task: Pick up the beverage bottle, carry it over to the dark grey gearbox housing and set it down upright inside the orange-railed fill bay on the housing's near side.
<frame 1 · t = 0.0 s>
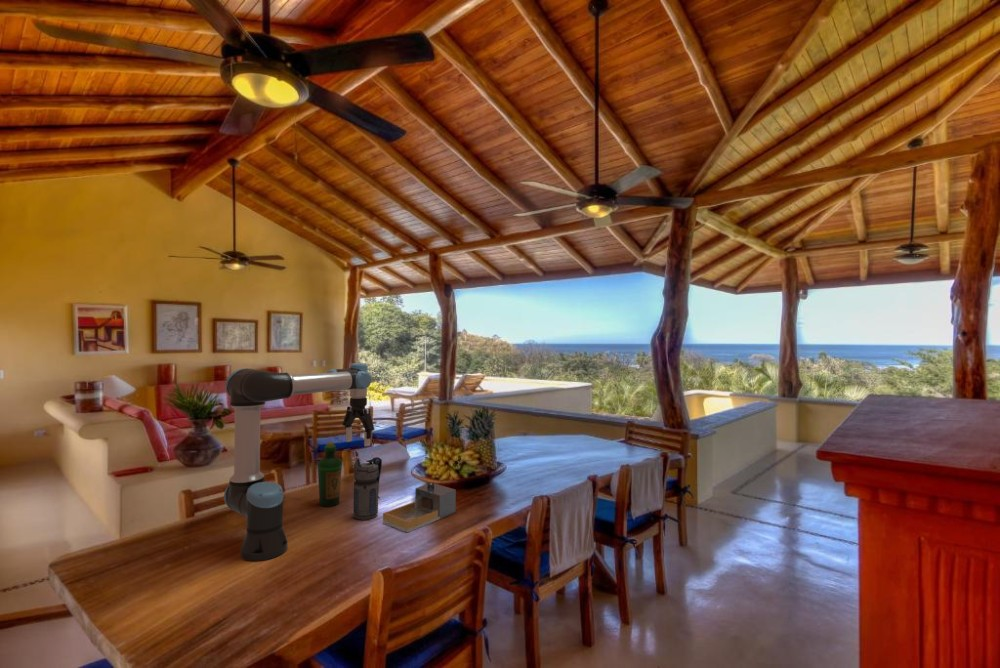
hand: (357, 443, 219), 28 cm above the table, fingers open, 13 cm apart
bottle: (329, 504, 220), on the table
beverage bottle: (367, 516, 207), on the table
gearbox: (411, 521, 201), on the table
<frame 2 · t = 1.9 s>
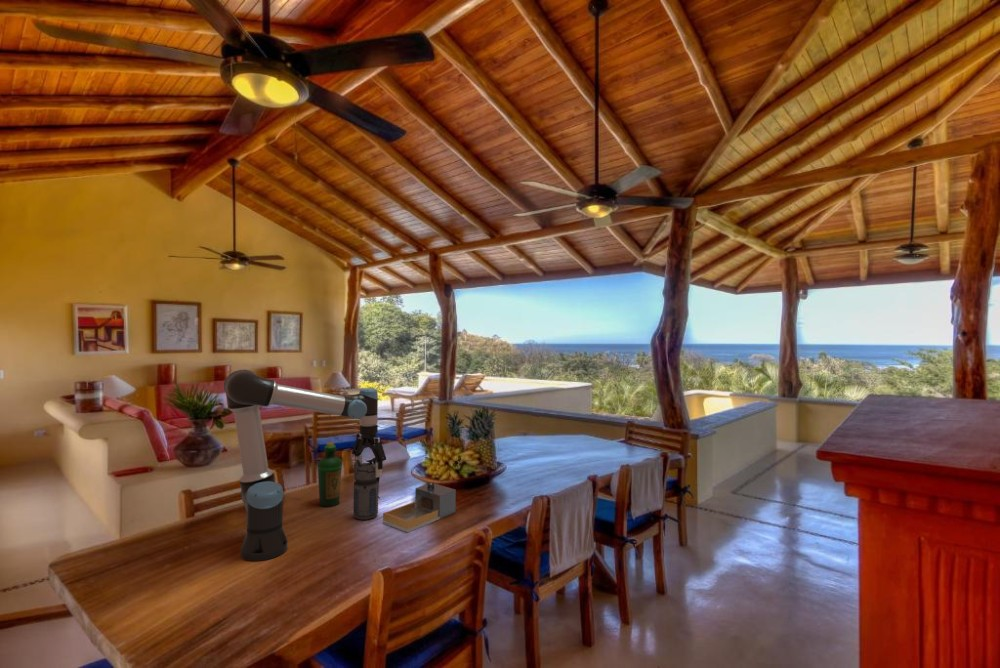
hand: (368, 473, 207), 18 cm above the table, fingers open, 13 cm apart
nothing on the table moved.
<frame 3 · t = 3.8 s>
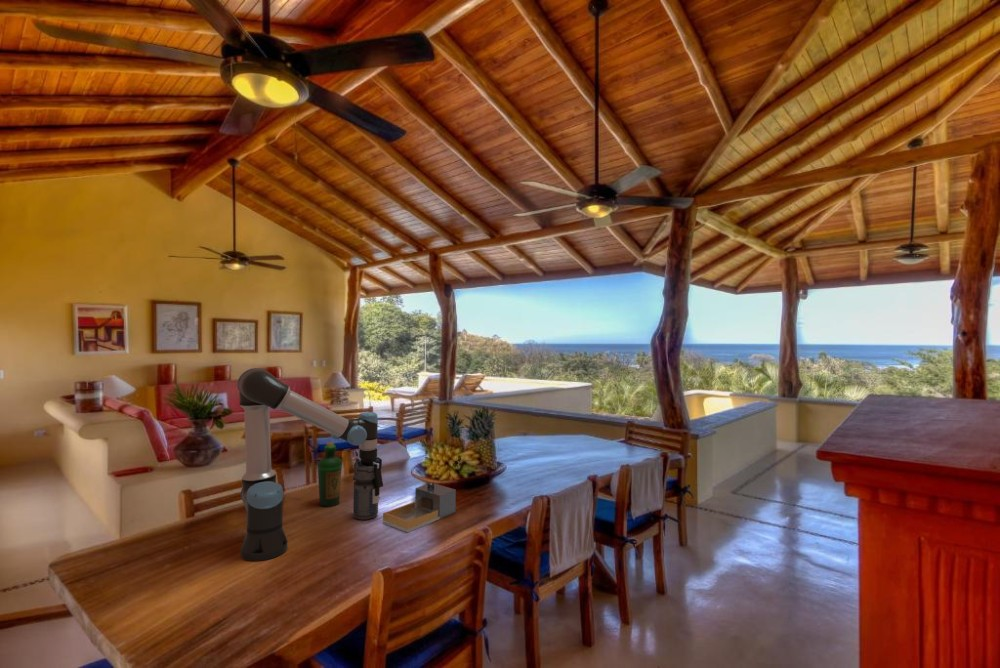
hand: (367, 500, 206), 7 cm above the table, fingers closed on beverage bottle, 10 cm apart
beverage bottle: (367, 516, 207), on the table, touching gripper
everything else where it was.
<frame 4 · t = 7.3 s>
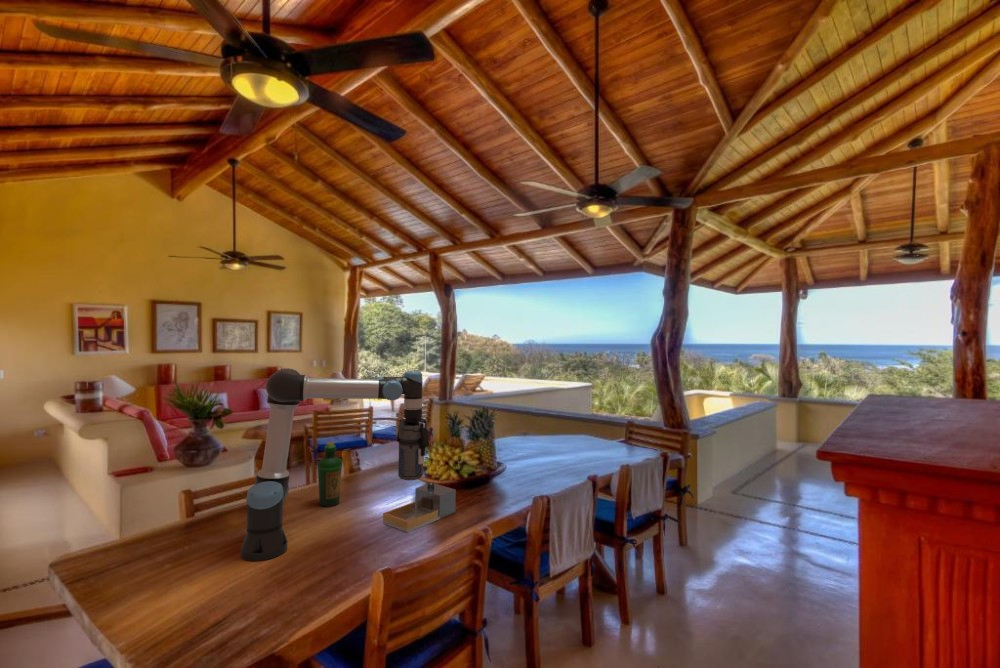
hand: (412, 461, 201), 25 cm above the table, fingers closed on beverage bottle, 10 cm apart
beverage bottle: (412, 477, 201), point 18 cm above the table, touching gripper
everything else where it was.
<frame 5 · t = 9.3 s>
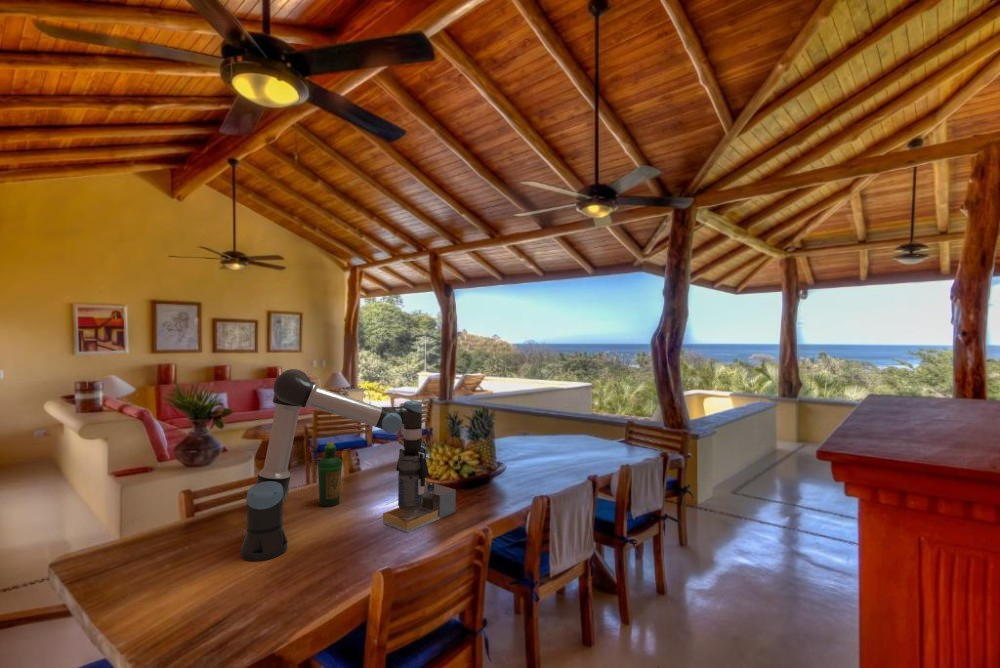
hand: (412, 491, 201), 13 cm above the table, fingers closed on beverage bottle, 10 cm apart
beverage bottle: (412, 507, 201), point 6 cm above the table, touching gripper
everything else where it was.
when the fingers open (10 cm above the table, at t = 11.0 s): beverage bottle drops 2 cm, resting on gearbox.
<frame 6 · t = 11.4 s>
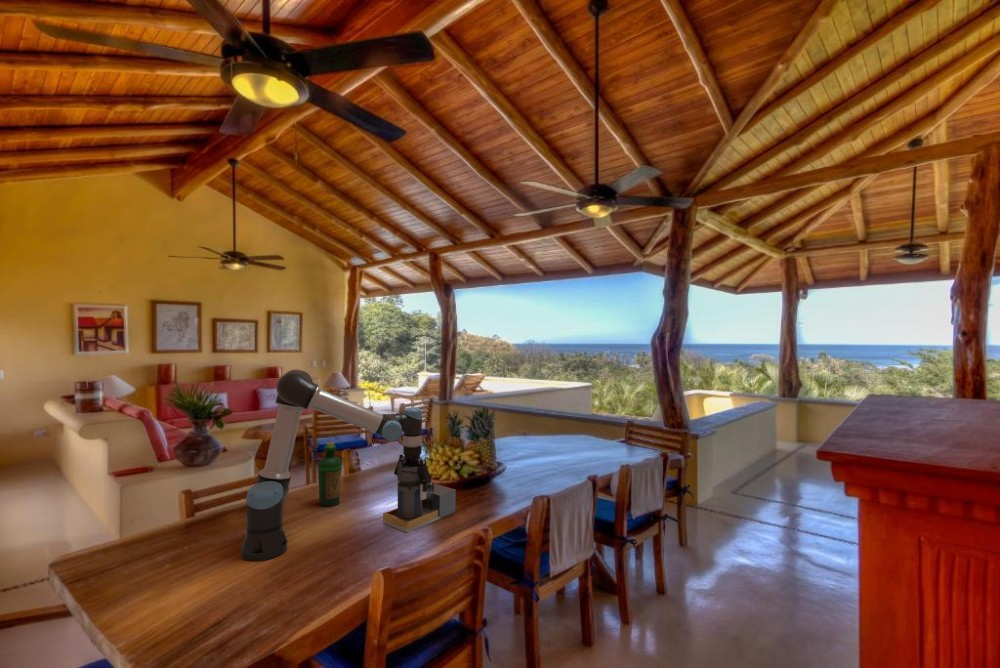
hand: (411, 495, 201), 11 cm above the table, fingers open, 13 cm apart
beverage bottle: (411, 518, 201), point 1 cm above the table, touching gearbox
everything else where it was.
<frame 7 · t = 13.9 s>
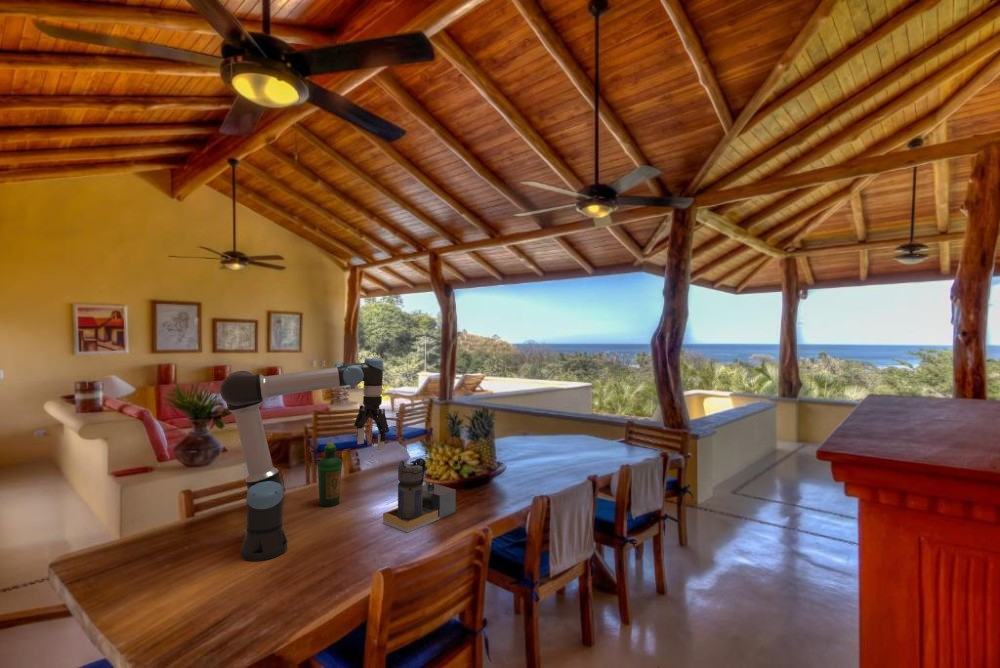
hand: (370, 446, 200), 31 cm above the table, fingers open, 13 cm apart
nothing on the table moved.
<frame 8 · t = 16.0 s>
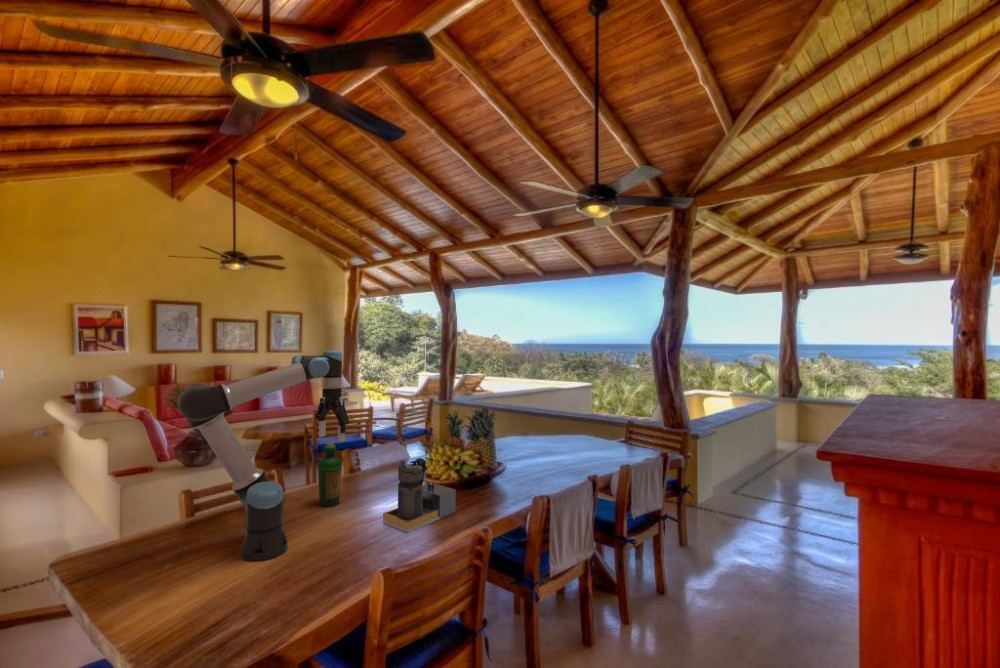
hand: (331, 438, 199), 35 cm above the table, fingers open, 13 cm apart
nothing on the table moved.
at the end: beverage bottle inside the target area on the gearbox (0.0 cm from its centre), point 1.0 cm above the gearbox's base; beverage bottle tilted 0°; the gripper is holding nothing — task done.
